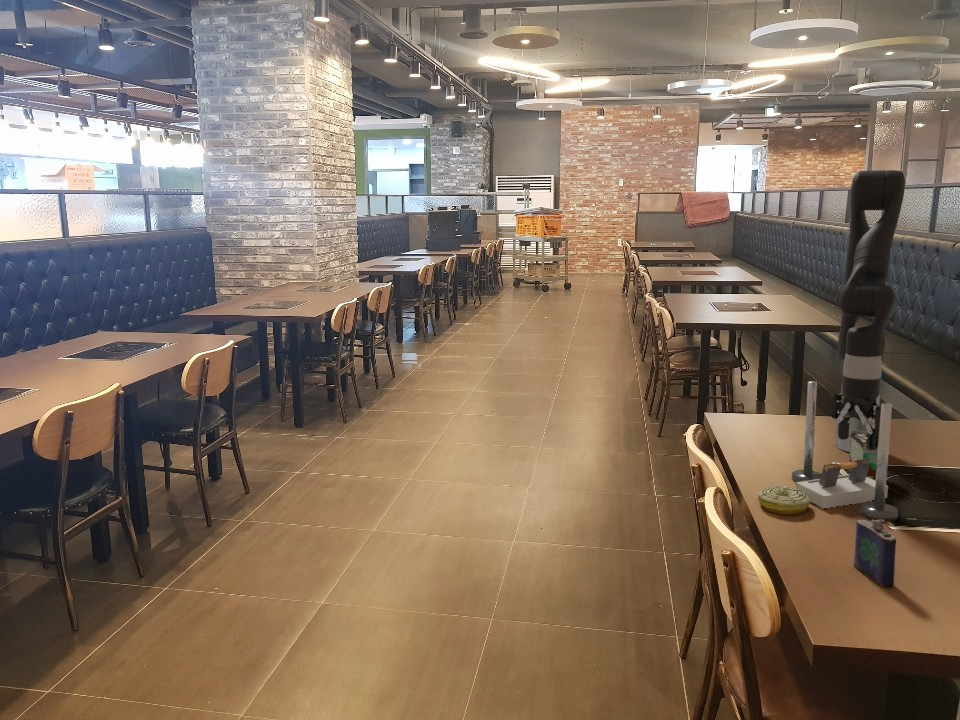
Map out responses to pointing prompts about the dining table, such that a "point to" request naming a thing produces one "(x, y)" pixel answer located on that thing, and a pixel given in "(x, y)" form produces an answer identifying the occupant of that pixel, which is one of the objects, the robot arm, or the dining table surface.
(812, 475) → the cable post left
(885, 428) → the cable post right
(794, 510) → the decorated donut
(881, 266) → the robot arm
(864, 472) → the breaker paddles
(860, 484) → the switch panel
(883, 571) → the flask
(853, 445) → the food container
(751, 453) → the dining table surface
